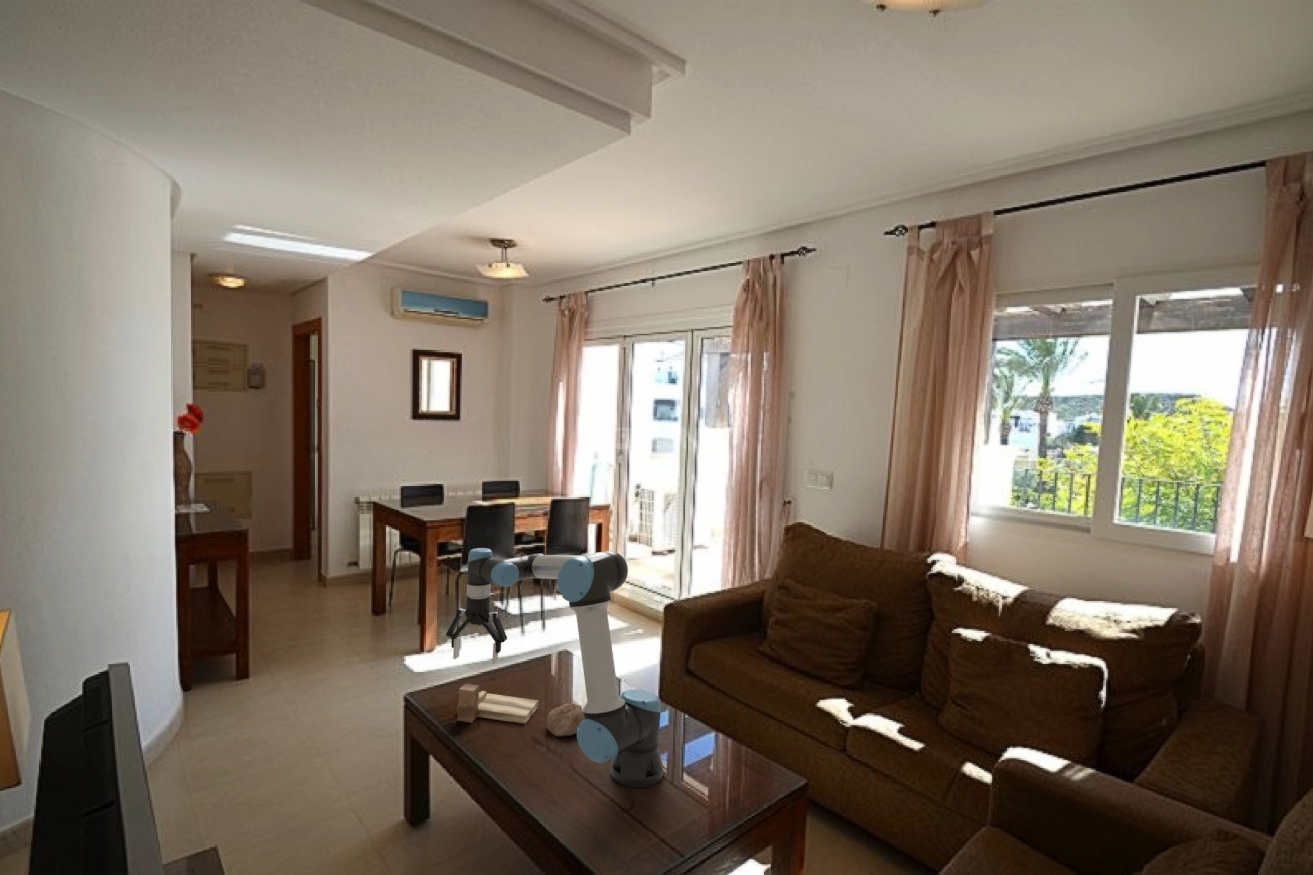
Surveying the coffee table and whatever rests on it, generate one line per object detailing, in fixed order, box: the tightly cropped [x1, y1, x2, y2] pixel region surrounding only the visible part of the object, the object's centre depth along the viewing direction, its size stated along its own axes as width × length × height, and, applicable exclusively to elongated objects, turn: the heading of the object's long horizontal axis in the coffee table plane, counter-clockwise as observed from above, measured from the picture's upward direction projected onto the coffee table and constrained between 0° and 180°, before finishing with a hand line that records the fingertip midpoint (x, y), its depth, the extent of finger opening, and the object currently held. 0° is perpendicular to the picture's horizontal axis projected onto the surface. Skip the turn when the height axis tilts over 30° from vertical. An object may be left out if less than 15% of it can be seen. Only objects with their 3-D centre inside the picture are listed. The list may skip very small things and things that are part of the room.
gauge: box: [456, 683, 487, 724], centre depth 212 cm, size 15×5×10 cm, turn 170°
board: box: [456, 691, 539, 725], centre depth 214 cm, size 12×24×3 cm, turn 80°
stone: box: [546, 702, 584, 737], centre depth 204 cm, size 12×9×10 cm
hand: (475, 659), depth 207 cm, fingers open, 13 cm apart
